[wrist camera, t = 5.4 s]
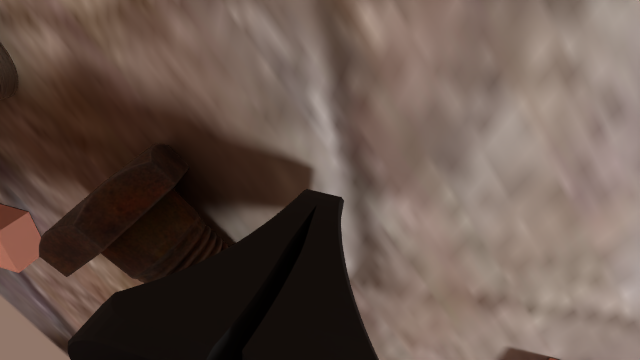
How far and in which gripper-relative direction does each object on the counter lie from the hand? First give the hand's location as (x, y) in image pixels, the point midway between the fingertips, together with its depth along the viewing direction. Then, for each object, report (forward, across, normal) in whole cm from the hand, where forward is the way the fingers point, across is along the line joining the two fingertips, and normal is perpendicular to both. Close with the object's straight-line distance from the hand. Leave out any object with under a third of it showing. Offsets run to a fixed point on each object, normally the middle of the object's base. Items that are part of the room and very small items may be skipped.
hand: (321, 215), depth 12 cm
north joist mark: (+1, +19, +8) cm, 20 cm away
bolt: (+2, +3, +6) cm, 7 cm away
